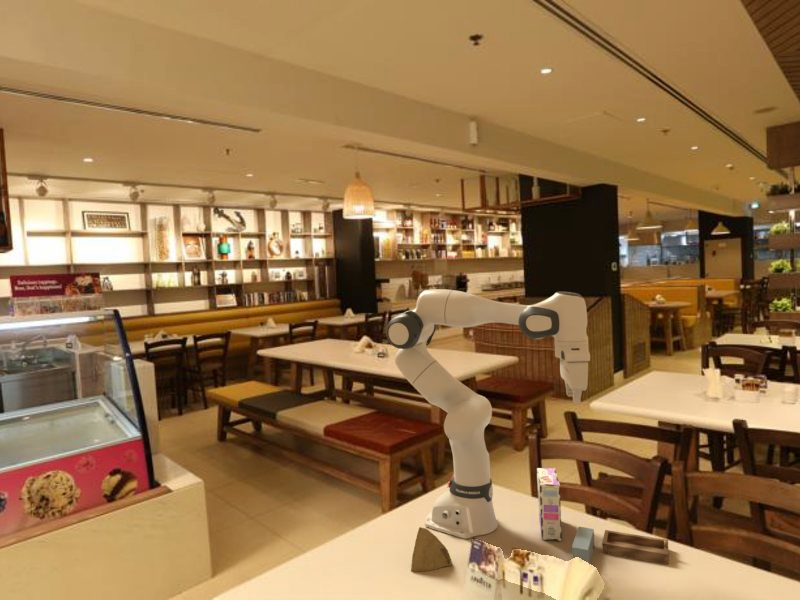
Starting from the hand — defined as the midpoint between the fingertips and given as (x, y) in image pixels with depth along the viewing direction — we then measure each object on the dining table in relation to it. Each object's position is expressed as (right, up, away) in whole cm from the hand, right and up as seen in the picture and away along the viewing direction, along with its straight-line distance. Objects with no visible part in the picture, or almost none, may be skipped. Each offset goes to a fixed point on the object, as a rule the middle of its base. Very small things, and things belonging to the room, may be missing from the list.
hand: (573, 400), depth 144 cm
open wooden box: (+16, -41, -2) cm, 44 cm away
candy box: (-3, -41, +12) cm, 43 cm away
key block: (+2, -42, -3) cm, 42 cm away
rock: (-39, -44, -4) cm, 59 cm away
